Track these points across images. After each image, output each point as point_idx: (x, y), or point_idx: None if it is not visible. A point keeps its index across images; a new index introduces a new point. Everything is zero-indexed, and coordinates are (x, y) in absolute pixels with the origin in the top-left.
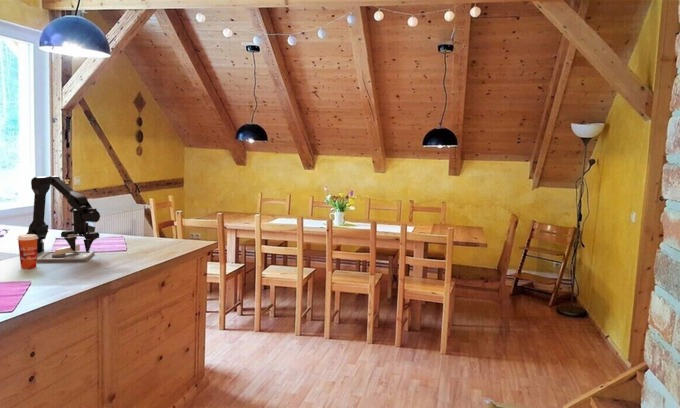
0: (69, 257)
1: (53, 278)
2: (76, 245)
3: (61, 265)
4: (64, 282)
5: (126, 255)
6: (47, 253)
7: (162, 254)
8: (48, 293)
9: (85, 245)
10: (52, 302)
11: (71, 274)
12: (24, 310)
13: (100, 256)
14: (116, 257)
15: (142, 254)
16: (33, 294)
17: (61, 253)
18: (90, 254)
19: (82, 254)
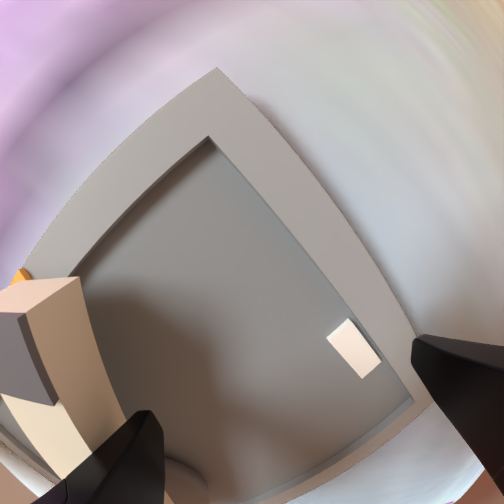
0: (257, 458)
1: (430, 490)
2: (36, 390)
3: (344, 487)
4: (467, 466)
5: (465, 39)
6: (25, 455)
7: (497, 5)
8: (465, 481)
9: (484, 445)
10: (482, 471)
11: (458, 456)
12: (463, 492)
13: (388, 143)
14: (483, 117)
15: (474, 6)
16: (446, 498)
17: (165, 497)
18: (378, 271)
19: (234, 312)
